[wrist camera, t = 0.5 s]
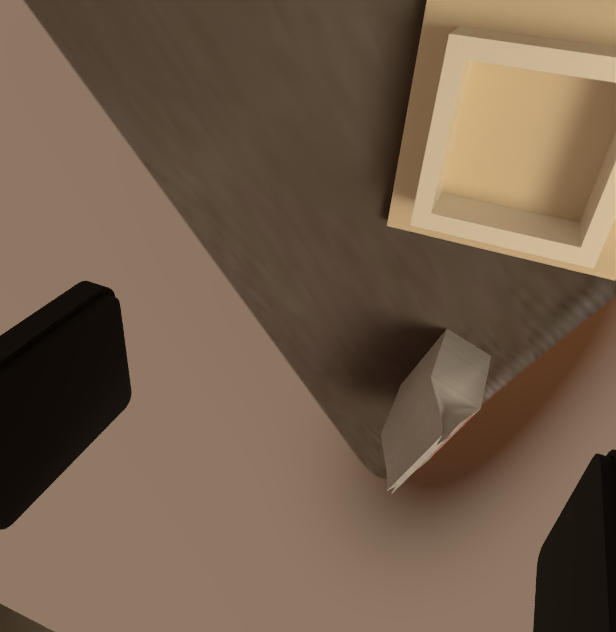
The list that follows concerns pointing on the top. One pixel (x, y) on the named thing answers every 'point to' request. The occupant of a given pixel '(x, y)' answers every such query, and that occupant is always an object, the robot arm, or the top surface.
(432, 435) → the white carton
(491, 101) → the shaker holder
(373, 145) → the top surface
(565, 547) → the robot arm
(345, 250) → the top surface
